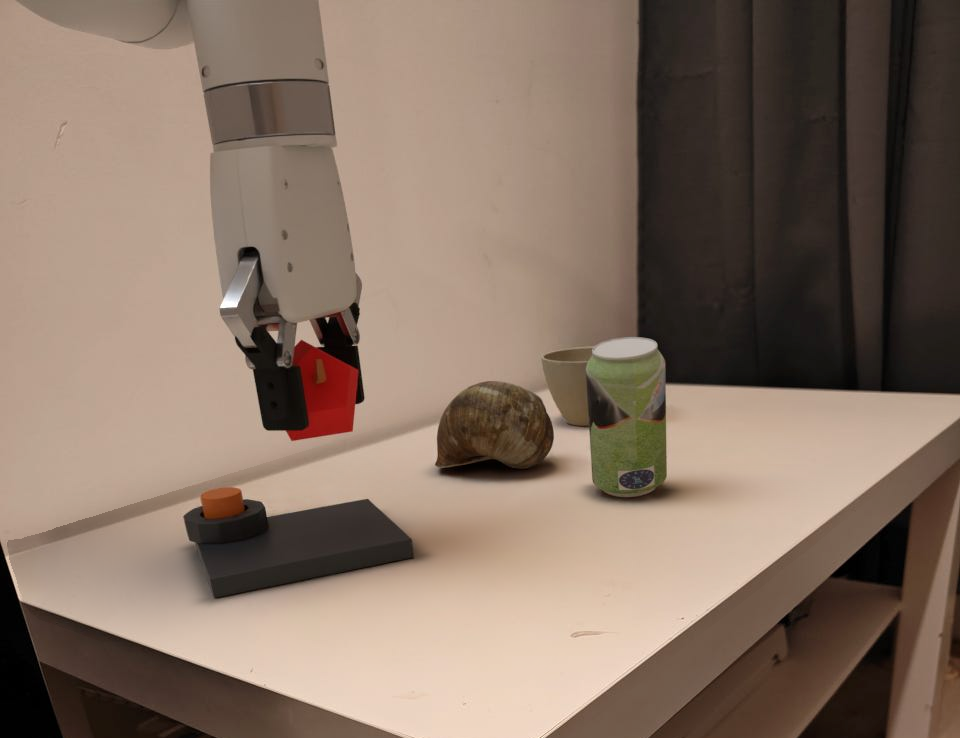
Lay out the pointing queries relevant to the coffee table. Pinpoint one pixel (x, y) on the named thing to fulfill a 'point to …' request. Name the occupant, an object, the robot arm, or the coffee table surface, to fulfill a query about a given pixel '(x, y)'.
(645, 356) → the beverage can
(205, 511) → the button
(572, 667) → the coffee table surface
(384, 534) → the dark grey flat slab
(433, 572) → the coffee table surface
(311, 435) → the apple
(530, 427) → the seashell
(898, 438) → the coffee table surface
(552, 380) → the flower pot
